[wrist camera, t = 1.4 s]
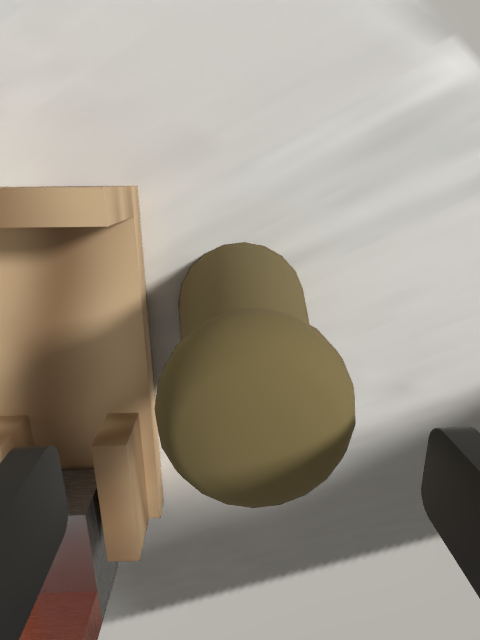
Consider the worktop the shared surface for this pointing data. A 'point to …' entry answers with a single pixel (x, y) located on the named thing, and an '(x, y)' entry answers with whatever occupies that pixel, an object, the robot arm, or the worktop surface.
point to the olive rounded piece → (252, 384)
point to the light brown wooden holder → (81, 346)
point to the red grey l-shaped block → (75, 570)
